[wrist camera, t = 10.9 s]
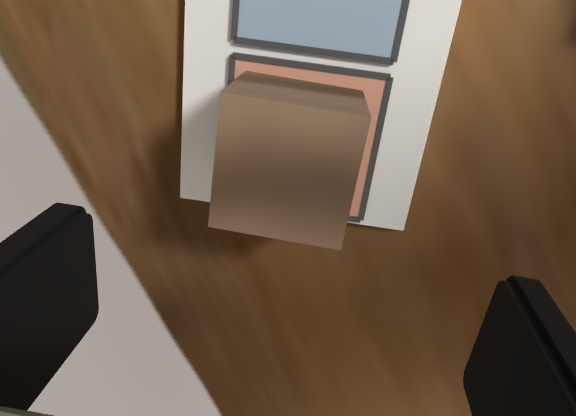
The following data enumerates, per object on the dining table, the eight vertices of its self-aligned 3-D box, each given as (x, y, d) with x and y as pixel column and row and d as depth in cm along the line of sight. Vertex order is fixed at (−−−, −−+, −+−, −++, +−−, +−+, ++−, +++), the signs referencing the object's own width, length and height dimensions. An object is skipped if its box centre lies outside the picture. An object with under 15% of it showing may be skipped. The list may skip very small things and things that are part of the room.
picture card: (193, -169, 19) (187, -176, 18) (491, -133, 18) (498, -138, 18) (183, 193, 25) (178, 199, 25) (402, 225, 25) (404, 232, 24)
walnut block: (246, 70, 22) (219, 91, 17) (362, 90, 22) (371, 117, 17) (234, 179, 24) (207, 226, 19) (339, 197, 24) (341, 250, 19)
